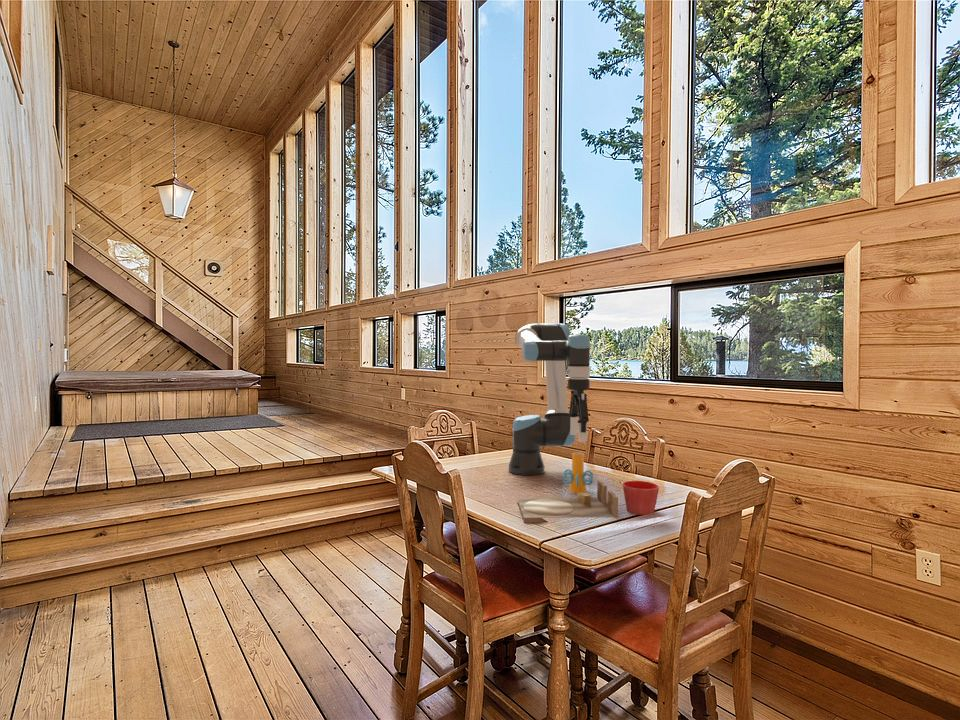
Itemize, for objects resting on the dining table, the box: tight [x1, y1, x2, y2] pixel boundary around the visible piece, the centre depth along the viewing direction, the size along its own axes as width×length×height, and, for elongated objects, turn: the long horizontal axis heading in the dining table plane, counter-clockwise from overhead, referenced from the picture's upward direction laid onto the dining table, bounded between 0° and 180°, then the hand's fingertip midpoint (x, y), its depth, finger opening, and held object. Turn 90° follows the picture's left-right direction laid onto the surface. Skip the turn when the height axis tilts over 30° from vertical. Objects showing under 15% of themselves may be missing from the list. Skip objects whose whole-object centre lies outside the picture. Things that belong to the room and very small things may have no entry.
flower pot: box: [622, 480, 660, 519], centre depth 167 cm, size 11×11×10 cm
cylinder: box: [562, 451, 594, 495], centre depth 188 cm, size 12×10×15 cm
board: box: [516, 479, 620, 524], centre depth 170 cm, size 20×29×8 cm
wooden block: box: [577, 492, 592, 505], centre depth 174 cm, size 4×2×3 cm, turn 22°
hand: (578, 438), depth 187 cm, fingers open, 13 cm apart
